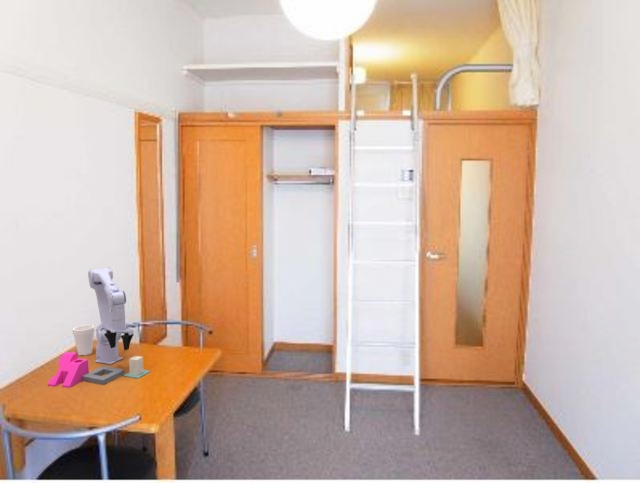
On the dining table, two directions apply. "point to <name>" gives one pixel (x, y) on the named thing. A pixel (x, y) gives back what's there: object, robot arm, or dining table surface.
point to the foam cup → (84, 339)
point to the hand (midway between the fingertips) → (119, 348)
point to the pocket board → (96, 378)
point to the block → (136, 365)
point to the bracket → (69, 370)
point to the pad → (136, 375)
